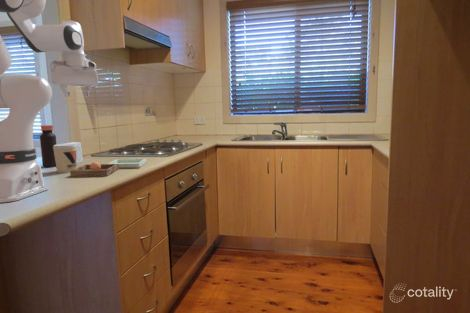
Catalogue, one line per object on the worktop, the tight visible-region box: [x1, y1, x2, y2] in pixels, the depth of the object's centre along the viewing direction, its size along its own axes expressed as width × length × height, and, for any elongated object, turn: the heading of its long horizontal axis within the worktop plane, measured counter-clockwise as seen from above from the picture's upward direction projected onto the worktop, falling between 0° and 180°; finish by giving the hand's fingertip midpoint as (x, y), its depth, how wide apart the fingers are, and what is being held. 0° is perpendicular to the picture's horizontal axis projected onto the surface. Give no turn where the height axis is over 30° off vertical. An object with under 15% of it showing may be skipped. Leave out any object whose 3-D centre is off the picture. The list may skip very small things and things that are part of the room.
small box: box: [64, 141, 84, 164], centre depth 171 cm, size 8×6×10 cm
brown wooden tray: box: [69, 163, 119, 178], centre depth 144 cm, size 16×15×2 cm
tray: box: [107, 158, 147, 170], centre depth 161 cm, size 15×15×2 cm
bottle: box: [39, 124, 57, 168], centre depth 161 cm, size 7×7×20 cm
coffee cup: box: [53, 143, 77, 174], centre depth 148 cm, size 9×9×12 cm
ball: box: [89, 161, 101, 170], centre depth 143 cm, size 4×4×4 cm
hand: (77, 96), depth 139 cm, fingers open, 8 cm apart
